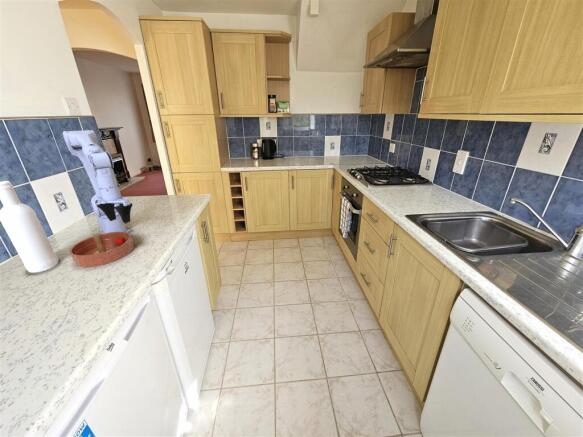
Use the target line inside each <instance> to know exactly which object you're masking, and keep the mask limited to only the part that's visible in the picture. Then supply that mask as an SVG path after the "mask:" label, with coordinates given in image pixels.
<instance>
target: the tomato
mask: <svg viewBox="0 0 583 437" xmlns="http://www.w3.org/2000/svg"><path fill="white" fill-rule="evenodd" d="M124 242H125V240H124V239H123V238H117V239H116V241H115V243H116V244H117V245H122V244H123V243H124Z"/></svg>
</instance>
